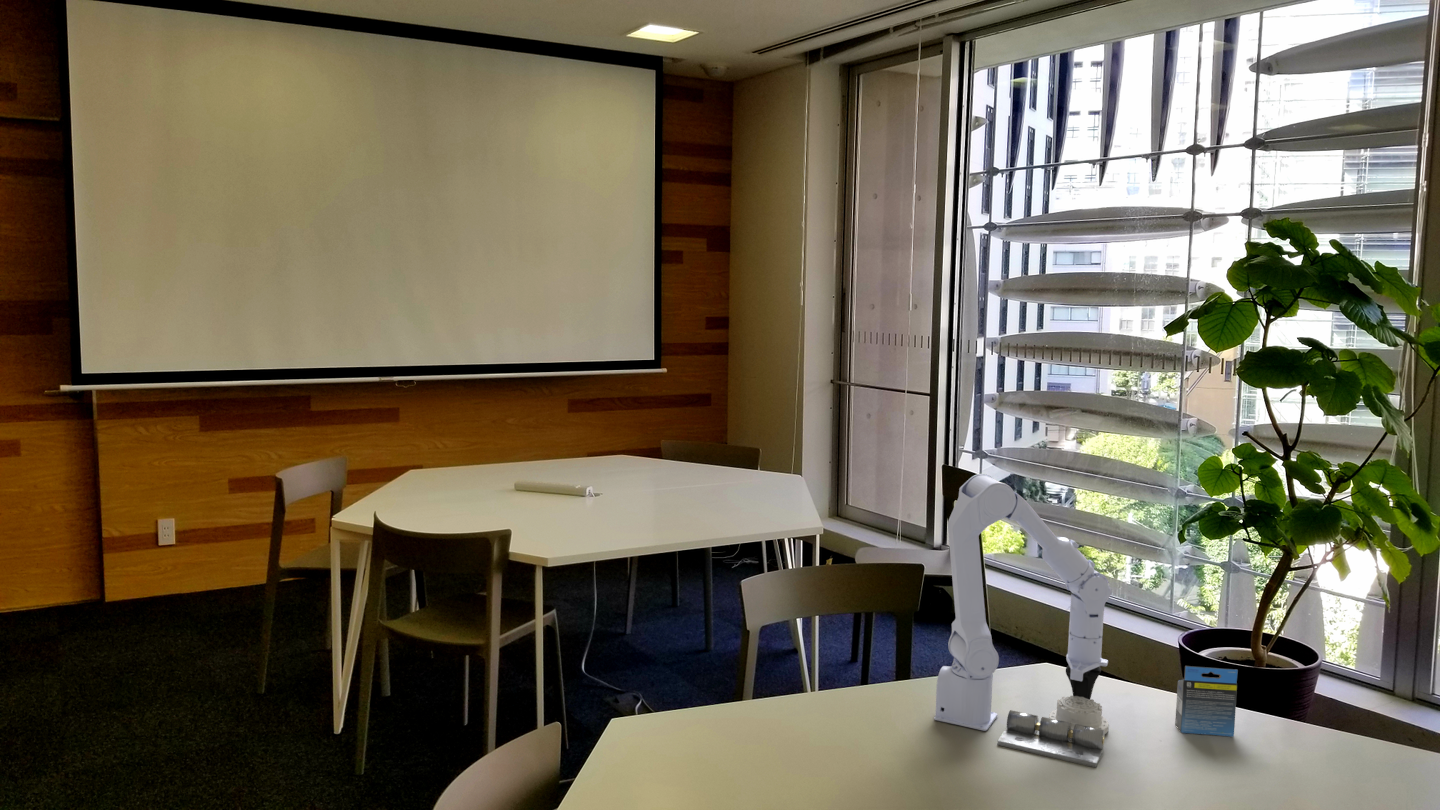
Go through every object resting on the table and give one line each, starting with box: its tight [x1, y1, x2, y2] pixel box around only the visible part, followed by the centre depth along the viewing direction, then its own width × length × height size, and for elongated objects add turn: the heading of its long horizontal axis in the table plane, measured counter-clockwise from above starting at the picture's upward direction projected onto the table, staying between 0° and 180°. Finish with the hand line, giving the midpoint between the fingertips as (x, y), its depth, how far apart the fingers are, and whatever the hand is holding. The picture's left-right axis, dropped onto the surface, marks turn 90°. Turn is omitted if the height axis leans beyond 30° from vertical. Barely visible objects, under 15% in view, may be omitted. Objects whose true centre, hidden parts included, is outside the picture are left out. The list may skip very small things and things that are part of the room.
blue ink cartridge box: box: [1174, 665, 1239, 738], centre depth 181 cm, size 9×4×12 cm, turn 80°
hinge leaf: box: [997, 709, 1106, 768], centre depth 175 cm, size 16×9×4 cm, turn 60°
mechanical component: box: [1048, 695, 1110, 735], centre depth 182 cm, size 10×4×10 cm
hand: (1081, 706), depth 187 cm, fingers closed
